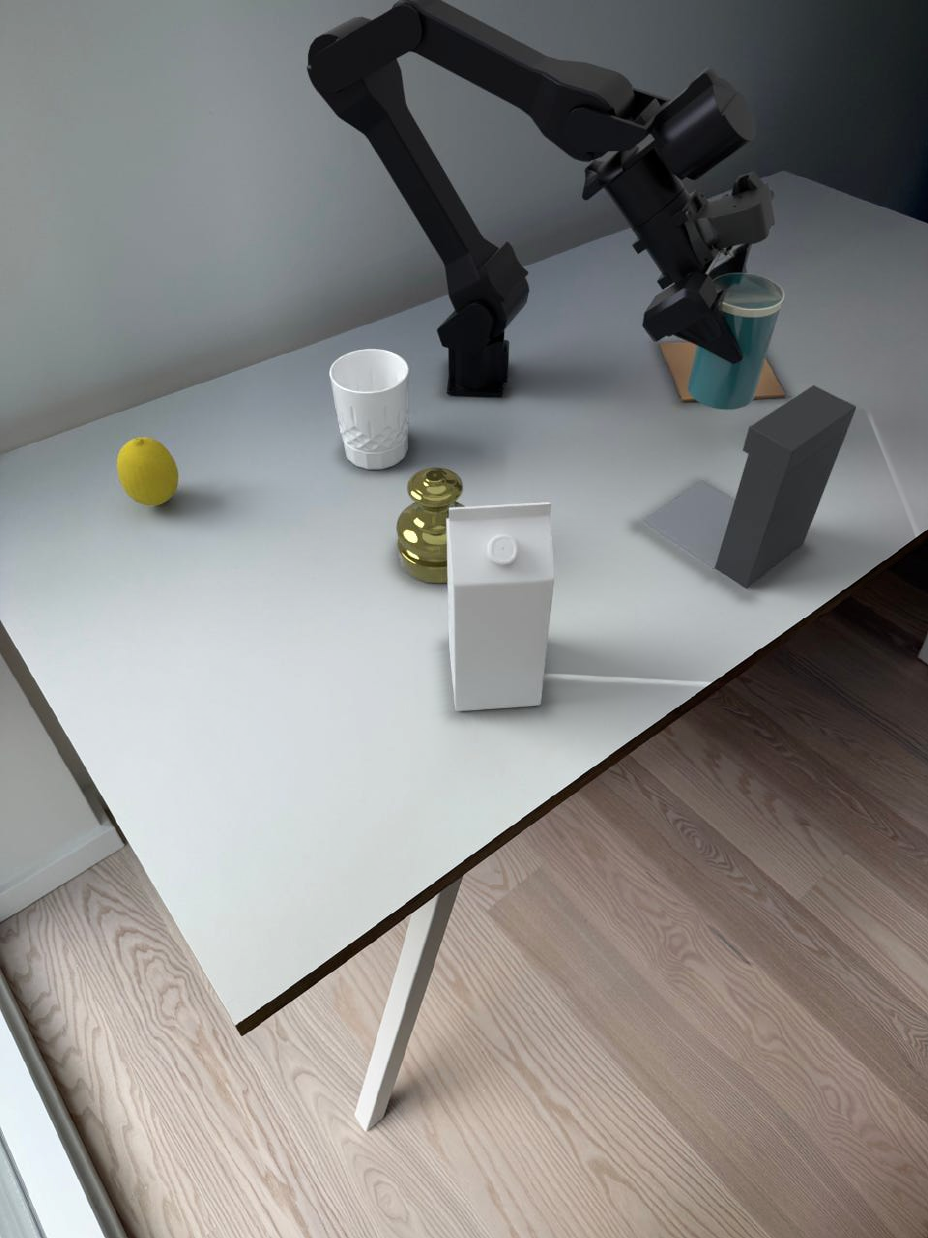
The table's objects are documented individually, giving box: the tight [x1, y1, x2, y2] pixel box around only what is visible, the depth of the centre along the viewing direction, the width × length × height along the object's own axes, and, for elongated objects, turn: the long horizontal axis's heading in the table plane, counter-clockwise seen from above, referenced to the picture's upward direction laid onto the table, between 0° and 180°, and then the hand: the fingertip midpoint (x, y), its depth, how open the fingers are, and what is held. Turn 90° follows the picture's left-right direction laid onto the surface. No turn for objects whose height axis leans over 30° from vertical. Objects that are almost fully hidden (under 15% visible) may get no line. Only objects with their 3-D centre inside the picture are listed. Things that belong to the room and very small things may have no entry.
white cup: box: [328, 348, 410, 470], centre depth 93 cm, size 8×8×10 cm
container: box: [688, 272, 785, 411], centre depth 88 cm, size 7×7×11 cm
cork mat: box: [659, 341, 786, 403], centre depth 106 cm, size 12×12×1 cm
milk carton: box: [446, 501, 555, 712], centre depth 69 cm, size 7×7×19 cm
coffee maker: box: [641, 385, 857, 589], centre depth 81 cm, size 12×10×16 cm
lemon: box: [116, 436, 179, 507], centre depth 88 cm, size 6×6×8 cm
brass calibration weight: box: [396, 466, 466, 584], centre depth 82 cm, size 7×7×10 cm
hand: (747, 343), depth 87 cm, fingers closed on container, 7 cm apart
